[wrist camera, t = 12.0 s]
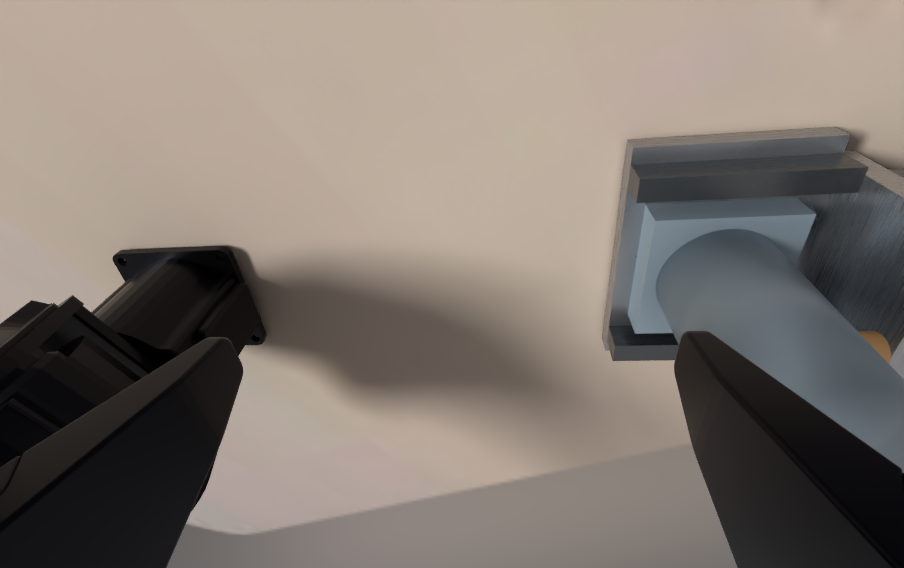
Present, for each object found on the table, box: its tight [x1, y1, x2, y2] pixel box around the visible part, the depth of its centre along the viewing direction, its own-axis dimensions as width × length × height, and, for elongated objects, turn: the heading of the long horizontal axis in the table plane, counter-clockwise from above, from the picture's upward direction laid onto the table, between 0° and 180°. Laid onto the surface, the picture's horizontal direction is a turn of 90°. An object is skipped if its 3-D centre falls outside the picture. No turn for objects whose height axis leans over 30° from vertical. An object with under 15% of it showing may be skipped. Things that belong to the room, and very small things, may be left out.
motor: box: [602, 127, 904, 379], centre depth 19 cm, size 15×11×7 cm
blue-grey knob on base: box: [628, 198, 904, 473], centre depth 17 cm, size 6×6×10 cm
